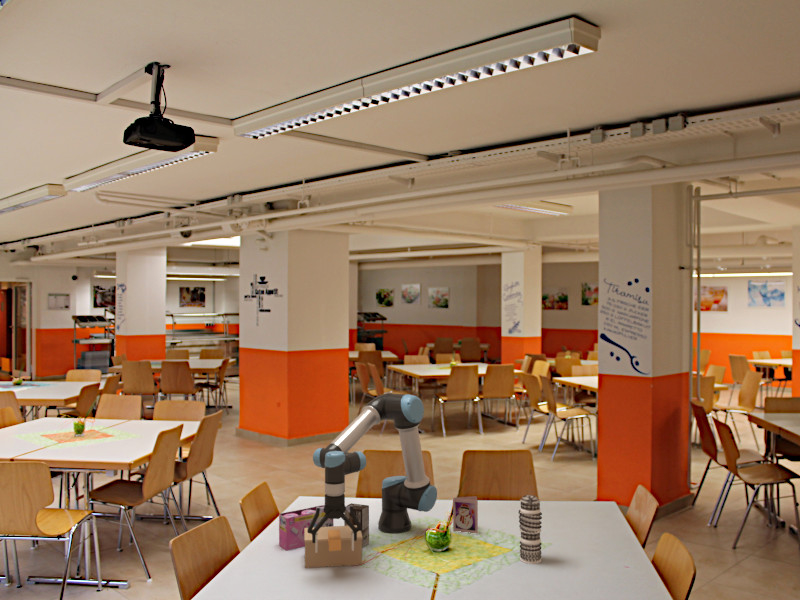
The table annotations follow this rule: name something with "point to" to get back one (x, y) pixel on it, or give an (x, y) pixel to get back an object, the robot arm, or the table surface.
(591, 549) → the table surface
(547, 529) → the table surface
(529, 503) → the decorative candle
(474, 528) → the greeting card
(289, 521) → the gum box
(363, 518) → the coffee box
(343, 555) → the cardboard carton
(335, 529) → the lid flap
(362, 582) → the table surface
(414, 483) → the robot arm
